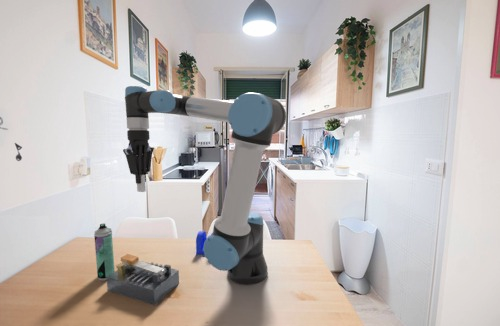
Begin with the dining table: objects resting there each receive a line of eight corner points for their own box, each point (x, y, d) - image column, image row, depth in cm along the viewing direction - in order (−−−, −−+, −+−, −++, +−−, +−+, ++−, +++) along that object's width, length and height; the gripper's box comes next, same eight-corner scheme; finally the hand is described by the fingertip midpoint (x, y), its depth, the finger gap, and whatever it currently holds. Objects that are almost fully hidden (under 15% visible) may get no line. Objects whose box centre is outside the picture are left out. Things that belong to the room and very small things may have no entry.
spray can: (109, 270, 95) (105, 220, 93) (117, 274, 92) (114, 223, 90) (94, 277, 91) (90, 225, 88) (102, 282, 88) (98, 228, 85)
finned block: (179, 283, 87) (178, 259, 86) (154, 305, 76) (153, 278, 75) (135, 272, 94) (134, 250, 93) (107, 290, 83) (105, 266, 82)
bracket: (214, 256, 107) (214, 236, 106) (196, 254, 108) (195, 234, 107) (226, 238, 124) (226, 221, 123) (210, 237, 126) (210, 220, 125)
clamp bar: (167, 273, 83) (167, 266, 82) (160, 278, 80) (161, 270, 79) (127, 260, 89) (127, 253, 88) (120, 264, 86) (120, 257, 85)
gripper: (143, 129, 100) (146, 187, 103) (115, 129, 88) (120, 194, 91) (158, 129, 97) (161, 188, 100) (131, 129, 85) (135, 196, 88)
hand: (141, 191), depth 95 cm, fingers closed
